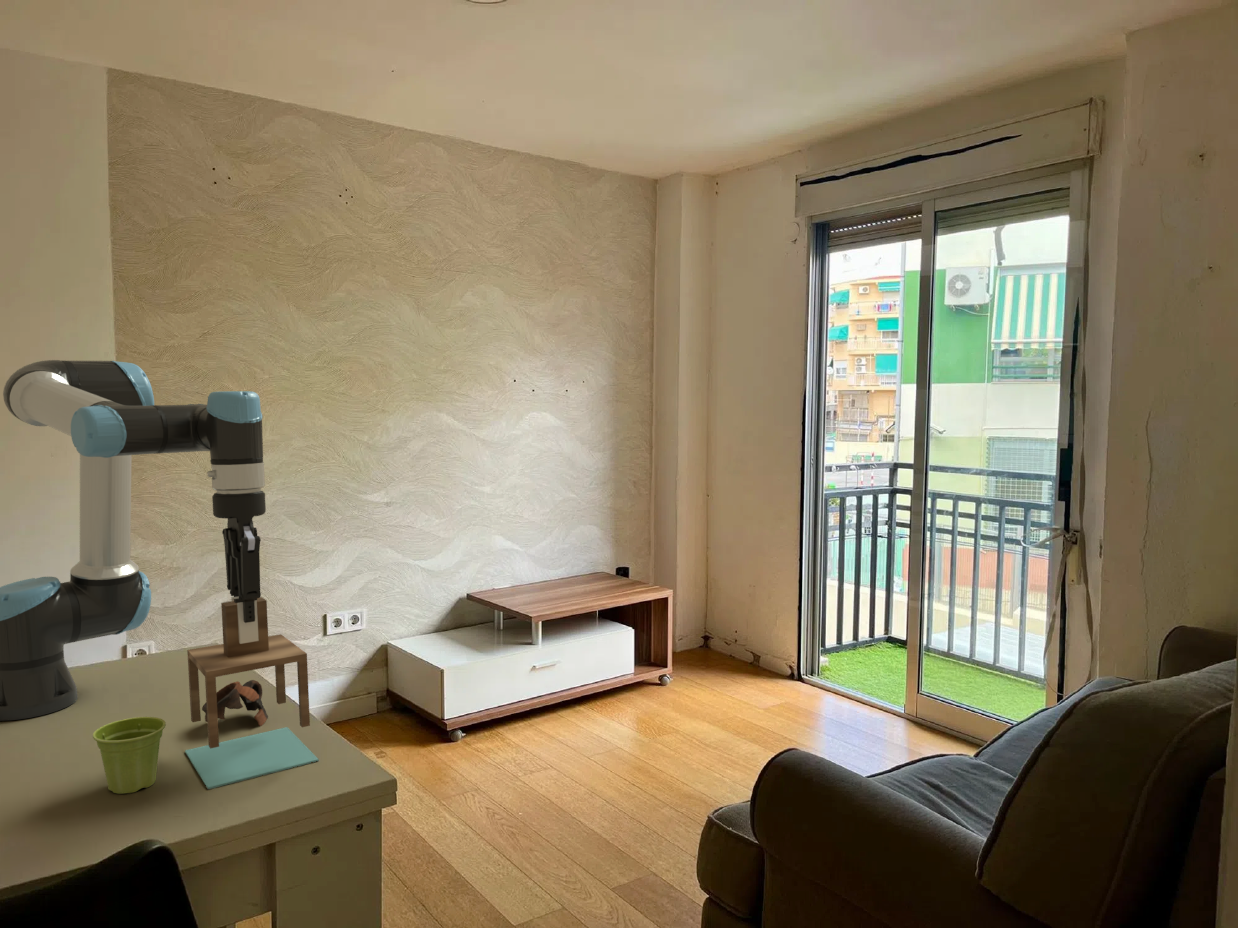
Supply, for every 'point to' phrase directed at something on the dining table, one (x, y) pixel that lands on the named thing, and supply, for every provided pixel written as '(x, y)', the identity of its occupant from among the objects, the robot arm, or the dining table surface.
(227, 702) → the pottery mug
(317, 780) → the dining table surface
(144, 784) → the plant pot
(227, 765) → the teal mat
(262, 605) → the brown piece
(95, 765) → the dining table surface
